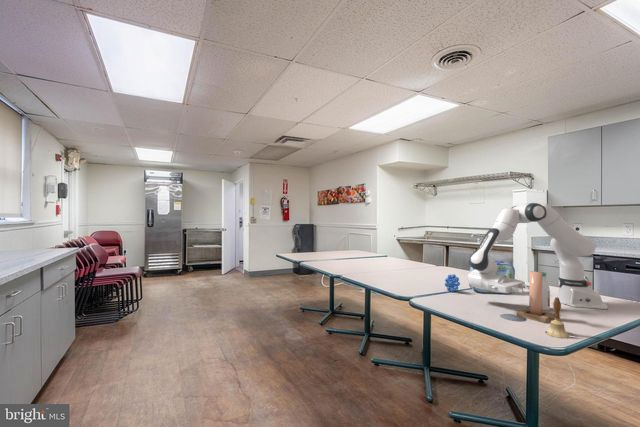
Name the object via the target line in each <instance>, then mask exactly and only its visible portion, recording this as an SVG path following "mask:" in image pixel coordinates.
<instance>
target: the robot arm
mask: <svg viewBox="0 0 640 427" xmlns="http://www.w3.org/2000/svg"><path fill="white" fill-rule="evenodd" d="M528 223H537V224H538V225H539V226H540V227H541V229H543V231H544V232H545V233H546V234H547V235H548V237H550V238H551V240H550V243H549V244H550V248H551V249H552V250H553V251H554V253H555V254H556V258H557V260H558V265H559V276H558V282H557V284H558V293H557V295H556V296H557V298H559V300H560V303H561V304H563V305H568V306H570V307H574V308H585V309H598V310H607V309H609V306H608V304H606V303H604V302H603V299H602V297H601V295H600V294H599V293H597V292H596V291H595V290H594V289H592V288H591V287H592V282H590V281H588V280H586V279H585V267H584V264H583V263H582V262H581V261H580V260H579V259H580V258H579V257H589V256H592V255H593V254H594V253H595V251H596V250H597V249H596V242H594V241H593V240H592V239H590V238H588V237H586V236H584V235H583V234H581V233H580V232H579V231H577V230H576V229H575V228H573V227H572V226H570V225H569V224H568V223H567V221H565V220H564V219H563V218H562V216H561V215H560V213H558V212H557V211H556V210H555V209H554V208H553V207H551V206H550V205H549V204H548V203H544V202H542V203H538V202H530V203H522V204H520V205H519V204H518V205H514V206H512V207H505V208H503V209H502V210H501V211H500V212H499V214H498V215H497V216H496V219H495V220H494V223H493V224H492V227H491V228H489V230H488V231H487V232H486V233H485V235H484V237H482V239H481V241H480V243H479V244H478V246H477V248H476V249H475V251H473V253H472V254H470V256H469V257H468V264H469V267H470V266H471V267H472V268H473V269H474V270H473V271H472V272H470V271H469V273H468V275H467V283H468V285H469V284H470V285H471V286H473V287H475V288H479V289H484V290H485V289H487V290H490V291H493V292H498V293H497V294H500V293H502V294H503V293H510V294H512V293H523V292H524V289H525V290H529V285H528V284H525V281H524V280H520V279H516V278H515V279H511V278H509V277H505V276H496V273H497V270H498V266H497V264H496V263H495V262H494V260H493V259H491V257H489V256H490V255H489V254H490V252H491V250H492V249H493V247H494V245H495V244H496V243H497V242H498V241H502V242H505V241H508V240H510V239H512V236H514V234H515V231H516V228H517V226H518V224H528ZM590 286H591V287H590ZM511 292H512V293H511Z"/></svg>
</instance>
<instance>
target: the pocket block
mask: <svg viewBox="0 0 640 427" xmlns="http://www.w3.org/2000/svg"><path fill="white" fill-rule="evenodd" d="M516 315H517V316H519V317H523V318H526V319H527V320H530V321H535V322H539V323H543V324H547V323H549V322H551V321H553V320H555V313H552V312H548V311H545V310H542V316H538V315H534V314H529V307H526V308H523V309H521V310H519V311H517V312H516Z"/></svg>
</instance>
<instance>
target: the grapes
mask: <svg viewBox="0 0 640 427" xmlns="http://www.w3.org/2000/svg"><path fill="white" fill-rule="evenodd" d="M444 282H445V283H444V286H445V287H446V290H447V291H448V292H449V291H450V292H451V293H454V292H455V291H458V290H459V286H460V285H461V282H460V278H459V277H458V276H456V274H455V273H453V274H448V275H447V277H446V278H445V279H444Z"/></svg>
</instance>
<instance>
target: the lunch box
mask: <svg viewBox="0 0 640 427" xmlns="http://www.w3.org/2000/svg"><path fill="white" fill-rule="evenodd" d="M493 261H494V260H493ZM494 262H495V263H496V264H497V266H498V270H497V273H496V276H505V277H509V278H511V279H516V278H515V277H516V270H515V267H514V266H513V265H512V264H510V263H507V262H504V261H503V260H500V261H499V260H497V261H496V260H495V261H494ZM473 270H474V269H473V268H472V267H471V266H470V265H469V273H470V272H472V271H473ZM468 285H469V288H471V290H473V291H475V292H477V293H481V294H482V293H483V294H484V293H485V294H499V295H500V294H504V295H506V294H507V295H509V294H512V293H513V292H511V293H498V292H493V291H490V290H487V289H485V290H484V289H479V288H475V287H473V286H471V285H470V284H469V283H468Z"/></svg>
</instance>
